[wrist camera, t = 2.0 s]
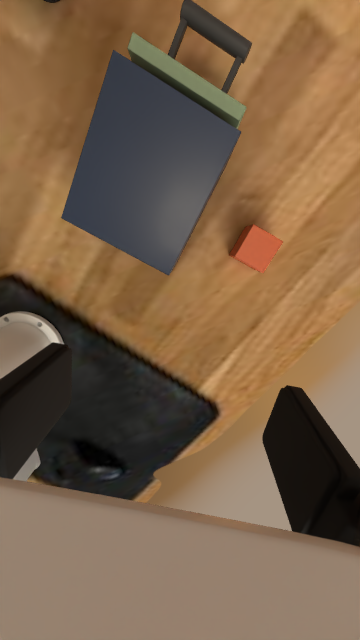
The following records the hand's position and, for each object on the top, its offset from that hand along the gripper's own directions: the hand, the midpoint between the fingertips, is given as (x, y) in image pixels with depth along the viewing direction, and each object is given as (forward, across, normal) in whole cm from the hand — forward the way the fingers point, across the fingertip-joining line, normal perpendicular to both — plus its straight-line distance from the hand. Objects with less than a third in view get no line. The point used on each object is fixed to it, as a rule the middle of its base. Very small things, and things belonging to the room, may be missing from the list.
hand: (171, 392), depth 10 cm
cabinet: (+26, +6, -11) cm, 29 cm away
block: (+26, -8, -7) cm, 28 cm away
